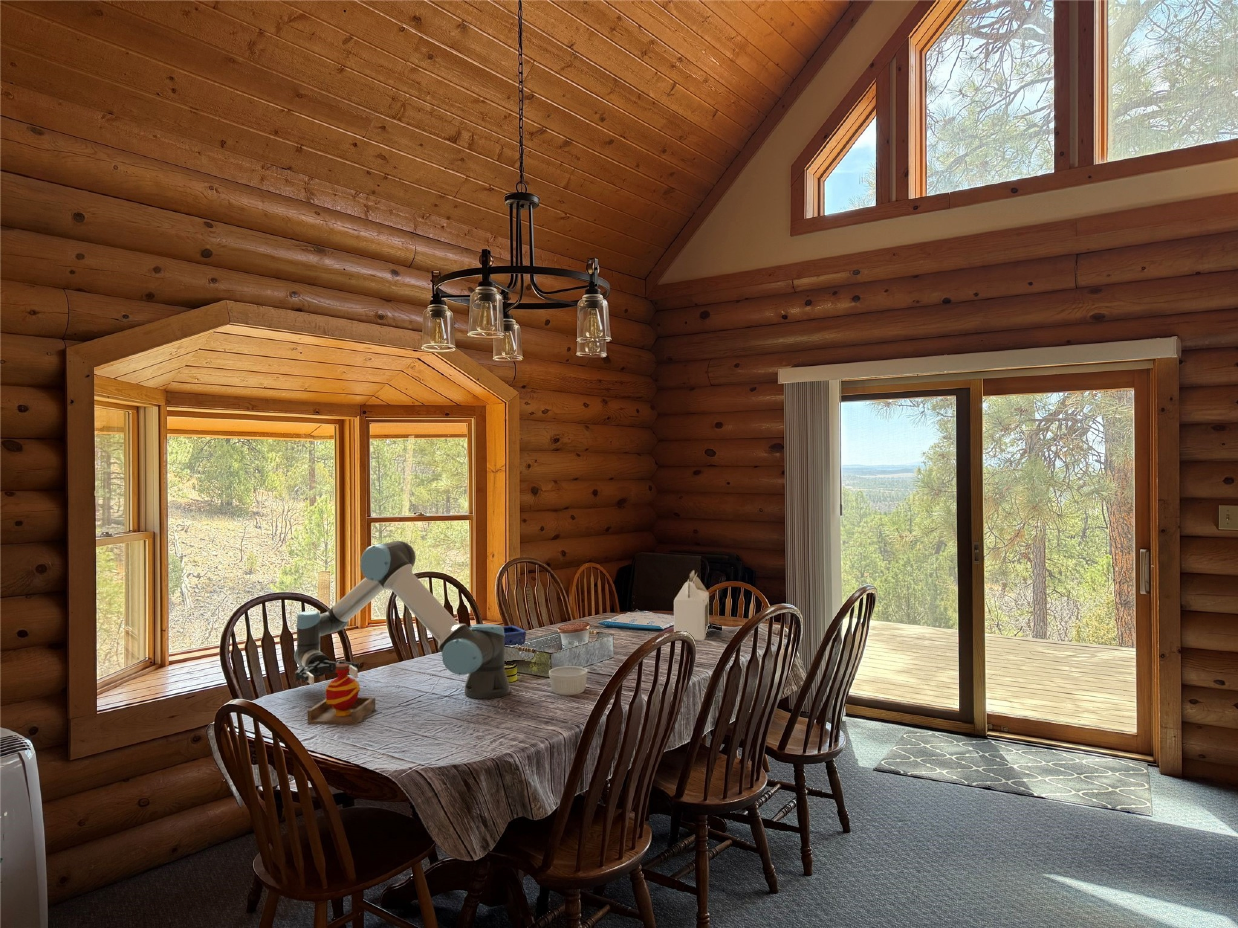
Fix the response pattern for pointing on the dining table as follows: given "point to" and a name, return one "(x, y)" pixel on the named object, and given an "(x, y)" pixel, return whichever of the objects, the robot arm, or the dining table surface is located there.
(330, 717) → the u rest
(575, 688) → the ramekin
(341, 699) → the potion bottle
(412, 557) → the robot arm
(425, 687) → the dining table surface
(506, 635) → the flower pot
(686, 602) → the gable box
